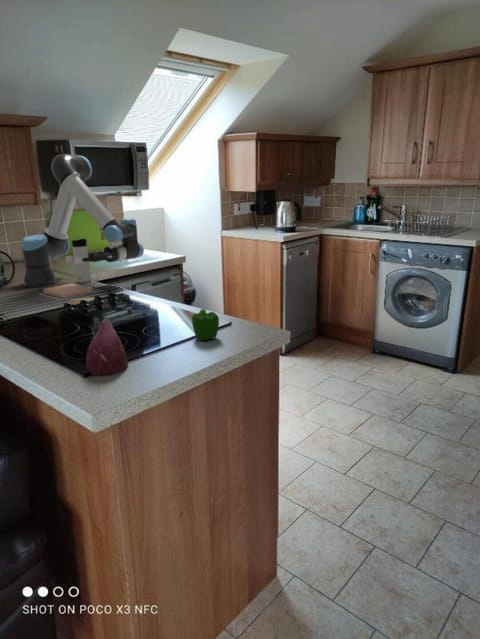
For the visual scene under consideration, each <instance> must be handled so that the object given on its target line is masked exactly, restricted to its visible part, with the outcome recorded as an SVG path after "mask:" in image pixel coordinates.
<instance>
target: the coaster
mask: <svg viewBox="0 0 480 639" xmlns="http://www.w3.org/2000/svg"><path fill="white" fill-rule="evenodd" d="M94 298H95V297H91V296H89V297H87V296H86V297H83V296H82V297H74V298H70V299H69V300H67V301H66V302H65V304H66V303H68V304H71V305H70V306H72V305H77V304H79V303H80V301H81V300H85V301H87V302H90V301H93V300H94Z"/></svg>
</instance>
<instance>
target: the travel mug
mask: <svg viewBox="0 0 480 639" xmlns="http://www.w3.org/2000/svg"><path fill="white" fill-rule="evenodd" d="M87 242H88V241H87V239H86V238H80V239H74V240H71V244H72V246H71V247H72V253H73V255H72V256H74V262H73V264H74V272H75V279H76V284H77V285H85V284H86V285H87V284H90V283H92V277H91V269H90V268H91V267H90V261H89V262H86V263H80V264H75V258H76V257H83V256H88V253H89V252H88V251H89V250H88V244H87Z"/></svg>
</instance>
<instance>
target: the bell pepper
mask: <svg viewBox="0 0 480 639" xmlns="http://www.w3.org/2000/svg"><path fill="white" fill-rule="evenodd" d="M191 320H192V321H191V322H192V328H193V333H194V334H195V337H196V336H197V337H196V338H197V340H199V339H200V340H199V341H201V340H208V339H211V338H213V337H215V338H216V337H217V335H218V332H219V331H218V330H219V325H220V318H219V316H218V314H216V313H215V312H214V311H211V312H208V313H207V310H206V309H205V308H201V309H200V310H199V312H198V313H192V317H191ZM213 339H214V338H213ZM211 340H212V339H211ZM208 341H209V340H208Z"/></svg>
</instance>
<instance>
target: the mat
mask: <svg viewBox="0 0 480 639" xmlns="http://www.w3.org/2000/svg"><path fill="white" fill-rule="evenodd" d="M91 289H92V292H90V293H85V294H80V295H76V296H71V297H66V298H61V297H57V296H53V295H49V294H45V293H44V292H40V293H36V295H38V296H42V297H44V298H45V297H46V298H49V299H51V300H57V301H63V300H67V299H69V300H70V299H74V298H79V297H83V296H86V295H92V294H96V293H100V292H105V290H104V289H100V288H95V287H91Z"/></svg>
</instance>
